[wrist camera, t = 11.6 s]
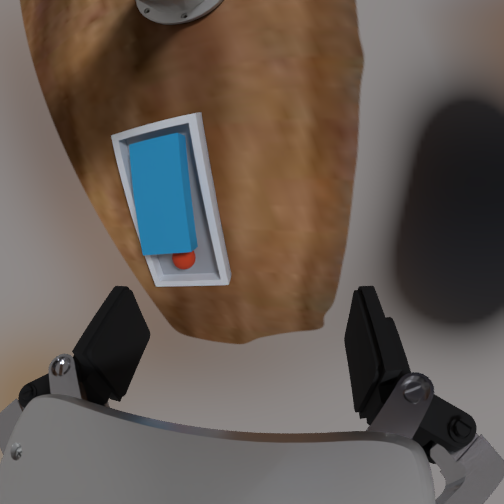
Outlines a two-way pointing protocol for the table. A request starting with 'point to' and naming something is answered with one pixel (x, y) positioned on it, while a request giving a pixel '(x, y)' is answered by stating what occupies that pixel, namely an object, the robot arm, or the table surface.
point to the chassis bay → (203, 201)
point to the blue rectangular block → (164, 198)
